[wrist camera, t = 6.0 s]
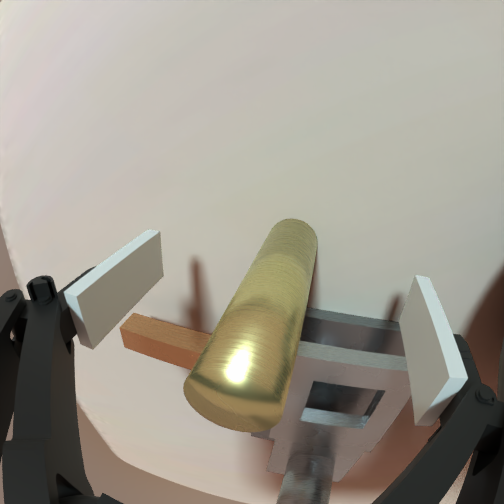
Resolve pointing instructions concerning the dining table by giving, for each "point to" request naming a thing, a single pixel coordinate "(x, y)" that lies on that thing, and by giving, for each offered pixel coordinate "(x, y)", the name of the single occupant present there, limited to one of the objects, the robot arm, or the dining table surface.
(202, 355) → the gold rounded cylinder
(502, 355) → the bowl
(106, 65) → the dining table surface
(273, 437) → the grey lever block
